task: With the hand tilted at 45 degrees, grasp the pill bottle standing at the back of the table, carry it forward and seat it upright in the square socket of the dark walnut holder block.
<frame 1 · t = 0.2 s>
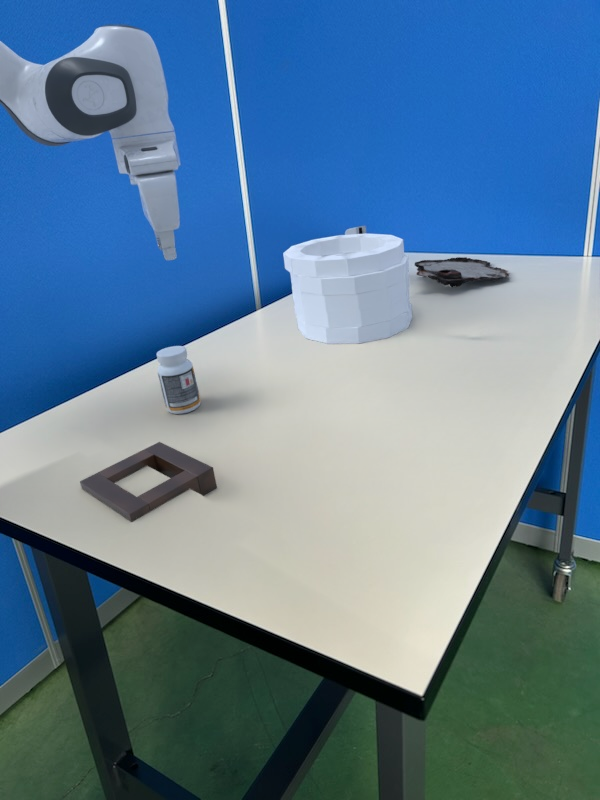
hand: (167, 253, 95), 24 cm above the table, tool pointing down, fingers open, 8 cm apart
scrap metal: (462, 279, 152), on the table
bracket: (362, 287, 155), on the table
holder: (151, 494, 79), on the table
container: (352, 324, 131), on the table
pill bottle: (184, 408, 102), on the table
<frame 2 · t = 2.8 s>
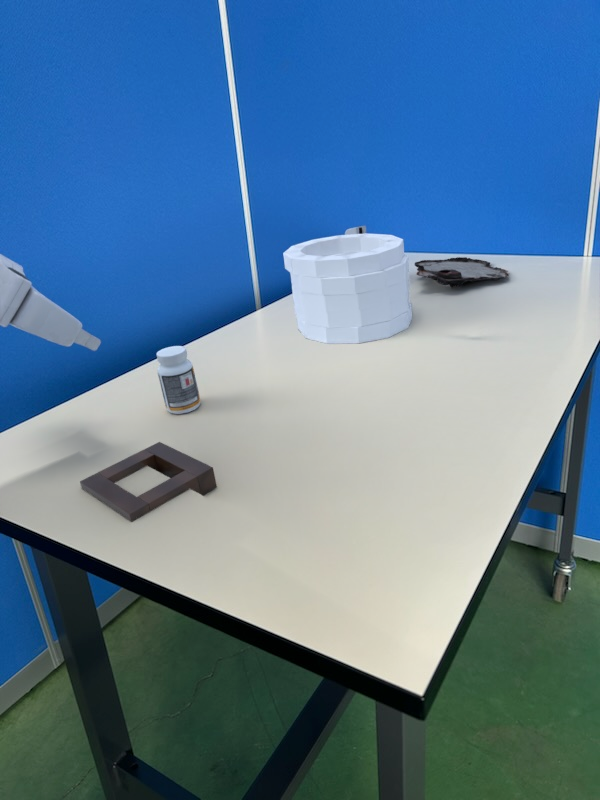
hand: (86, 338, 89), 16 cm above the table, tool tilted 45°, fingers open, 8 cm apart
nothing on the table moved.
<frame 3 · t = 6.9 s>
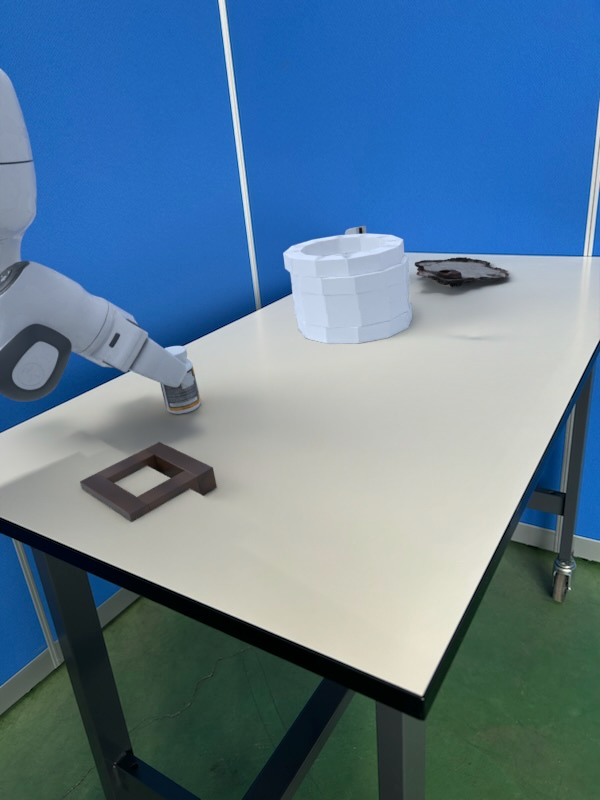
hand: (181, 375, 100), 5 cm above the table, tool tilted 45°, fingers closed on pill bottle, 6 cm apart
pill bottle: (184, 408, 102), on the table, touching gripper
everything else where it was.
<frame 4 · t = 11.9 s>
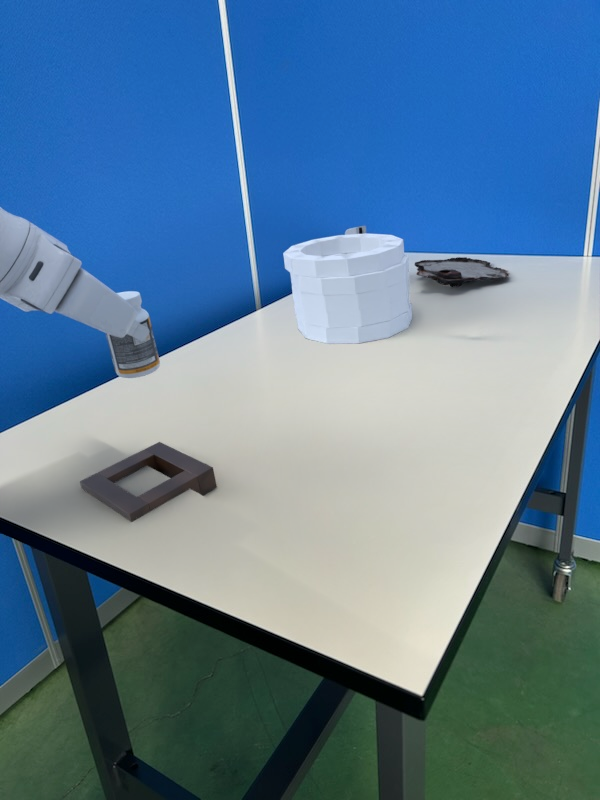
hand: (134, 329, 78), 19 cm above the table, tool tilted 45°, fingers closed on pill bottle, 6 cm apart
pill bottle: (138, 372, 80), point 14 cm above the table, touching gripper
everything else where it was.
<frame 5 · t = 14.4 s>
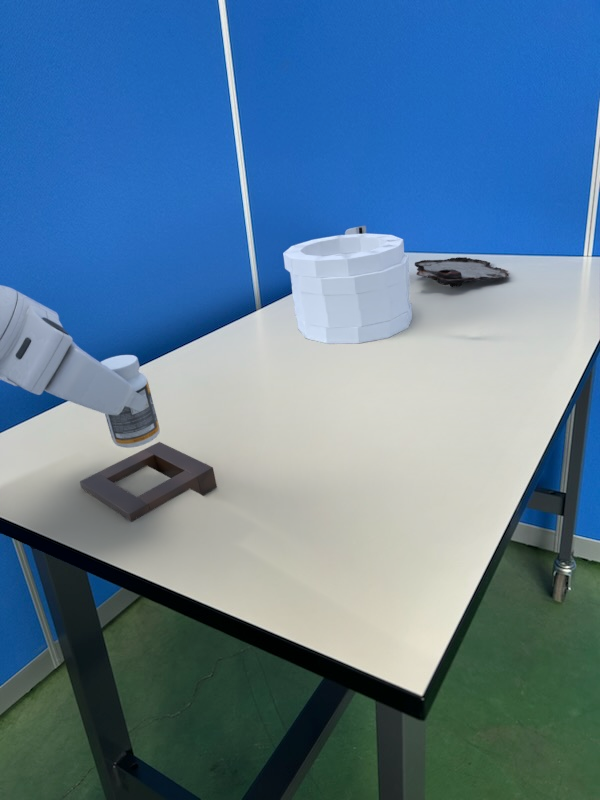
hand: (131, 395, 73), 14 cm above the table, tool tilted 45°, fingers closed on pill bottle, 6 cm apart
pill bottle: (137, 439, 75), point 8 cm above the table, touching gripper
everything else where it was.
when the fingers open (5 cm above the table, at t = 17.0 s): pill bottle stays where it is, resting in holder.
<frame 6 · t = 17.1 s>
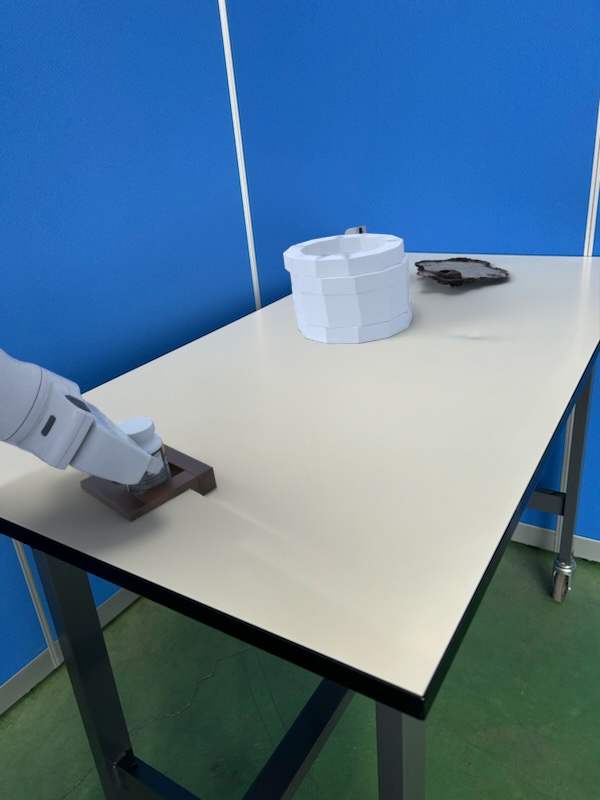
hand: (147, 456, 77), 5 cm above the table, tool tilted 45°, fingers open, 6 cm apart
pill bottle: (152, 495, 79), resting in holder
everything else where it was.
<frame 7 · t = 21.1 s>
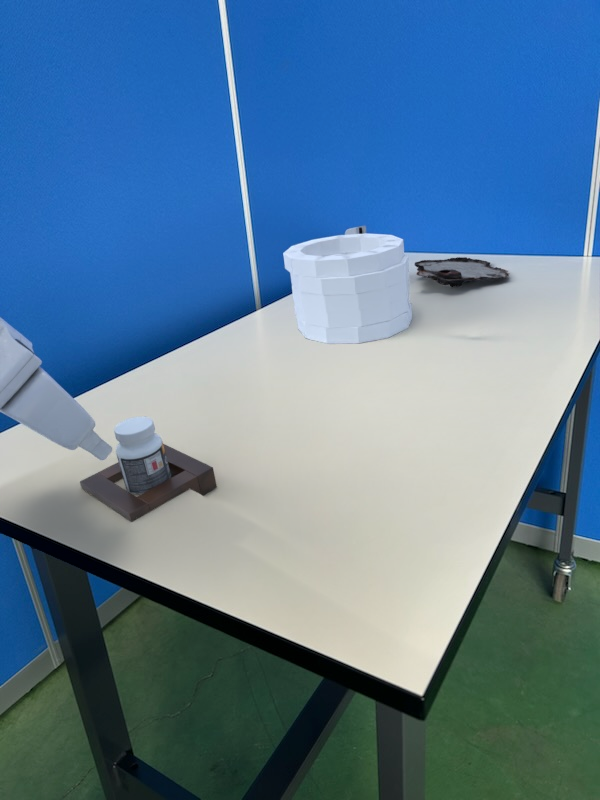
hand: (92, 443, 70), 11 cm above the table, tool tilted 30°, fingers open, 8 cm apart
nothing on the table moved.
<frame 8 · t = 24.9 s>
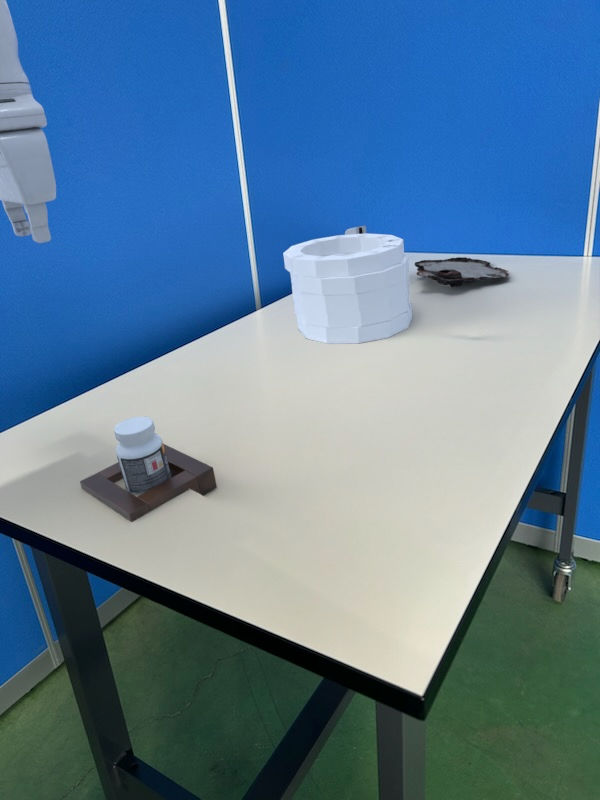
hand: (33, 238, 77), 31 cm above the table, tool pointing down, fingers open, 8 cm apart
nothing on the table moved.
at the end: pill bottle 0.1 cm off-centre in the holder, point 0.0 cm above the holder's base; pill bottle tilted 0°; the gripper is holding nothing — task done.
